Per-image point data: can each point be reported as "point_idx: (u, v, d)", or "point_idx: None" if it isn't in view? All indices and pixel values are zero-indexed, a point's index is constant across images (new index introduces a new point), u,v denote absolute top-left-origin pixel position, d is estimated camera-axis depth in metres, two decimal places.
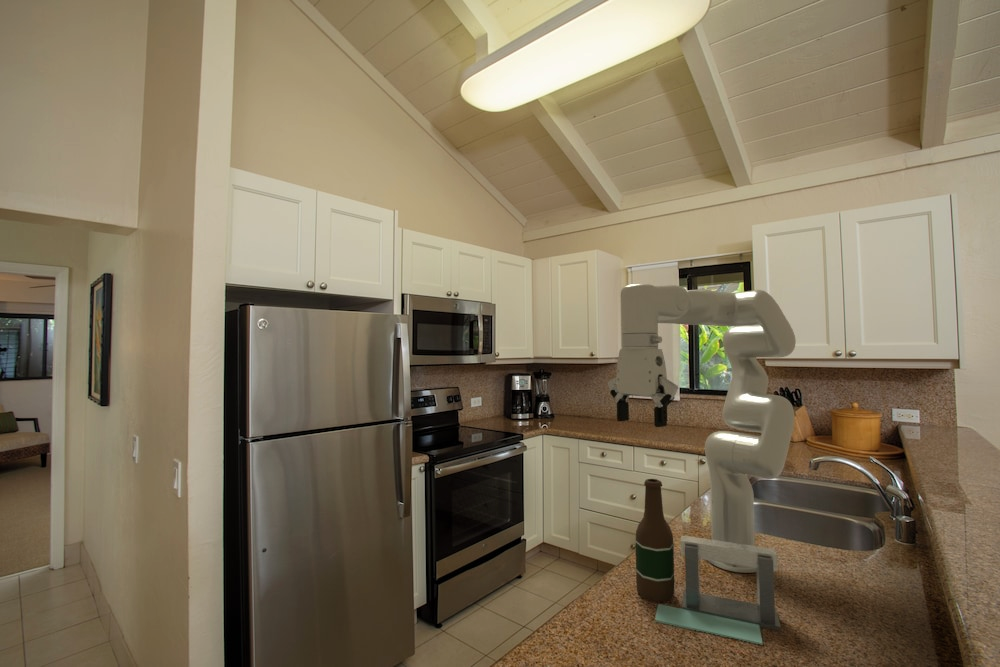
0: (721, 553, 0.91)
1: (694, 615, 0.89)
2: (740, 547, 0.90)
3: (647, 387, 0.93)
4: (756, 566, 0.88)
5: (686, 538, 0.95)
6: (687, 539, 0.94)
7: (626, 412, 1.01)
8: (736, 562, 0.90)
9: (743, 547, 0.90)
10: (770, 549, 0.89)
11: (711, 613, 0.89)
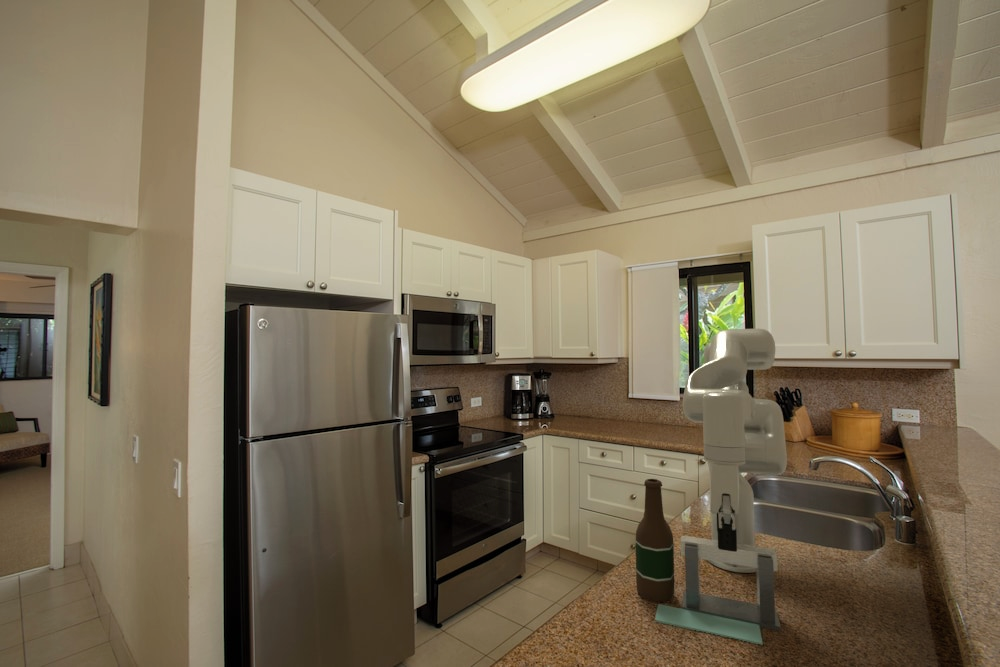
0: (721, 553, 0.91)
1: (694, 615, 0.89)
2: (740, 547, 0.90)
3: None
4: (756, 566, 0.88)
5: (686, 538, 0.95)
6: (687, 539, 0.94)
7: None
8: (736, 562, 0.90)
9: (743, 547, 0.90)
10: (770, 549, 0.89)
11: (711, 613, 0.89)
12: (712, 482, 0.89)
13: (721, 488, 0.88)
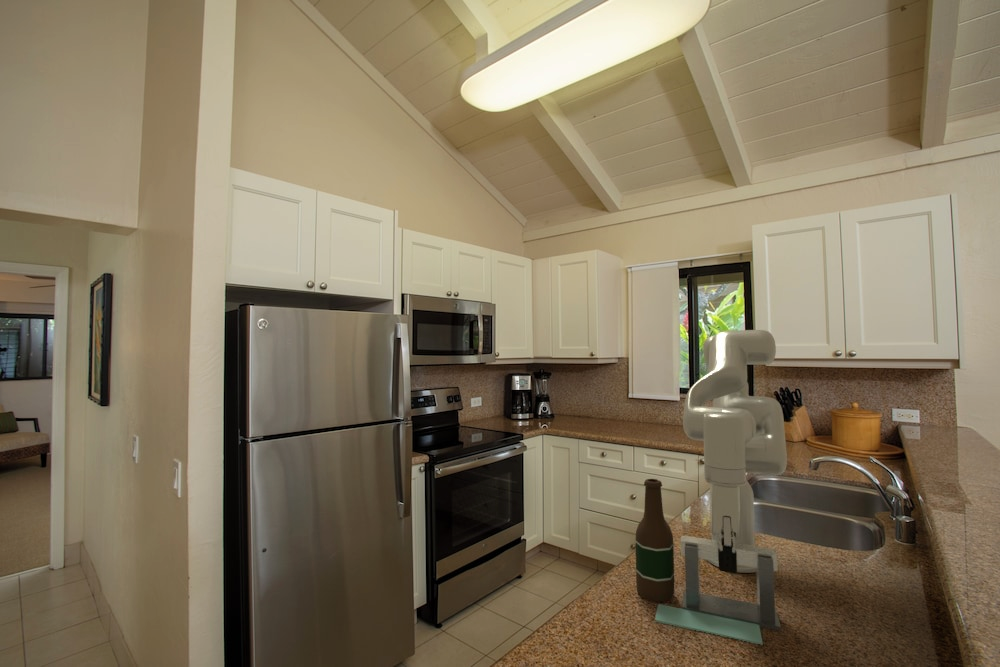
0: None
1: (694, 615, 0.89)
2: (740, 547, 0.90)
3: None
4: (756, 566, 0.88)
5: (686, 538, 0.95)
6: (687, 539, 0.94)
7: None
8: None
9: (743, 547, 0.90)
10: (770, 549, 0.89)
11: (711, 613, 0.89)
12: (713, 504, 0.89)
13: (722, 510, 0.88)
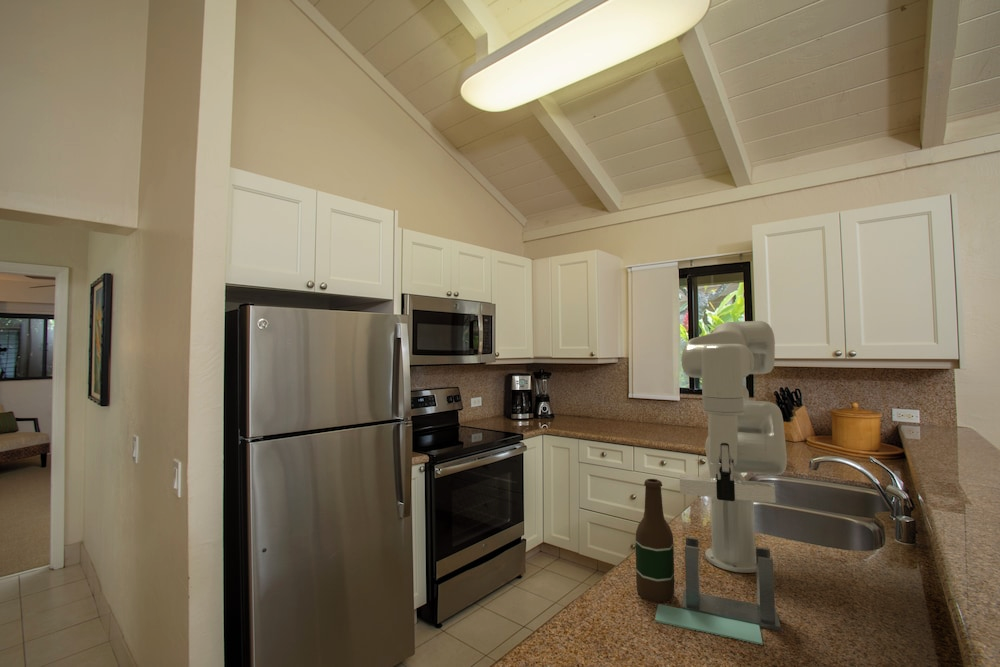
0: None
1: (694, 615, 0.89)
2: (738, 482, 0.91)
3: None
4: (754, 499, 0.89)
5: (685, 477, 0.96)
6: (686, 478, 0.95)
7: None
8: None
9: (741, 482, 0.91)
10: (768, 483, 0.90)
11: (711, 613, 0.89)
12: (711, 432, 0.90)
13: (720, 438, 0.89)
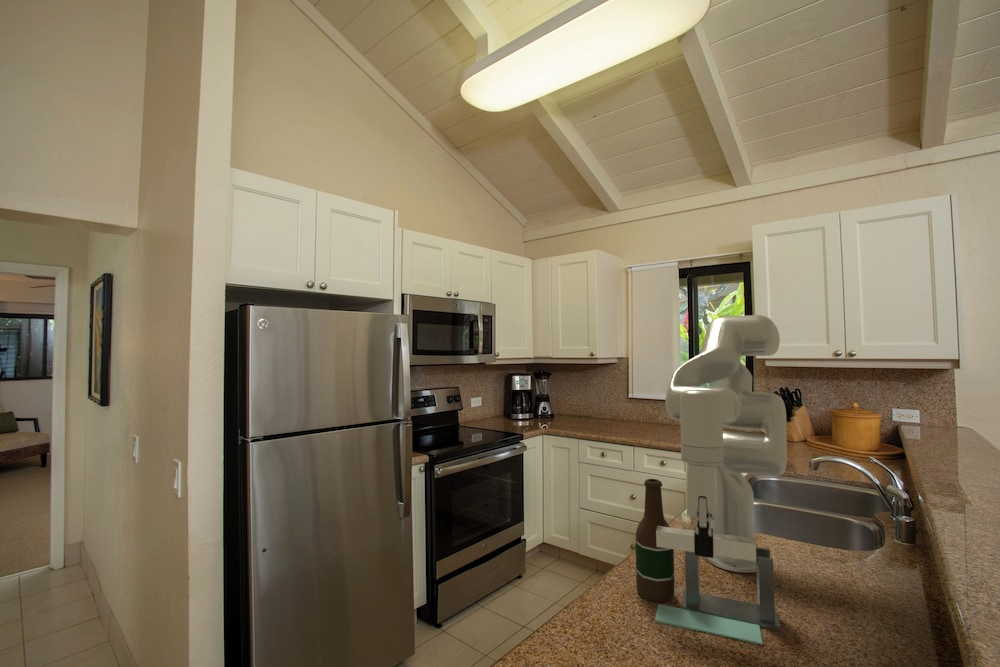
0: None
1: (694, 615, 0.89)
2: (717, 537, 0.86)
3: None
4: (734, 556, 0.84)
5: (662, 528, 0.91)
6: (663, 529, 0.90)
7: None
8: (713, 553, 0.85)
9: (720, 537, 0.86)
10: (749, 539, 0.85)
11: (711, 613, 0.89)
12: (688, 484, 0.85)
13: (697, 490, 0.84)
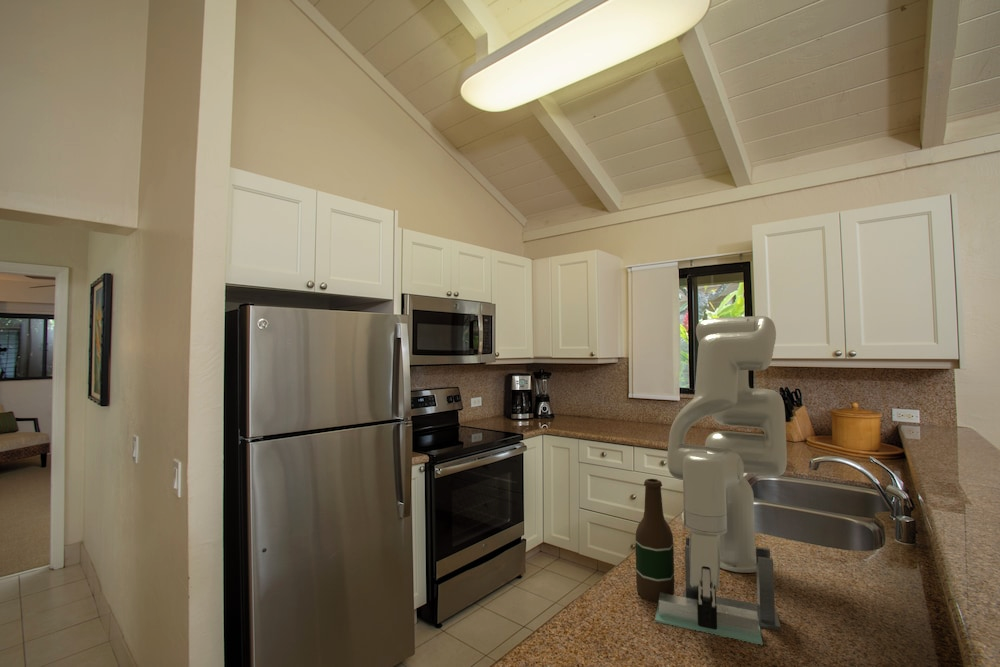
0: None
1: None
2: (720, 609, 0.86)
3: None
4: (737, 631, 0.84)
5: (665, 596, 0.90)
6: (666, 598, 0.90)
7: None
8: None
9: (723, 609, 0.86)
10: (752, 612, 0.85)
11: None
12: (691, 553, 0.84)
13: (701, 560, 0.83)
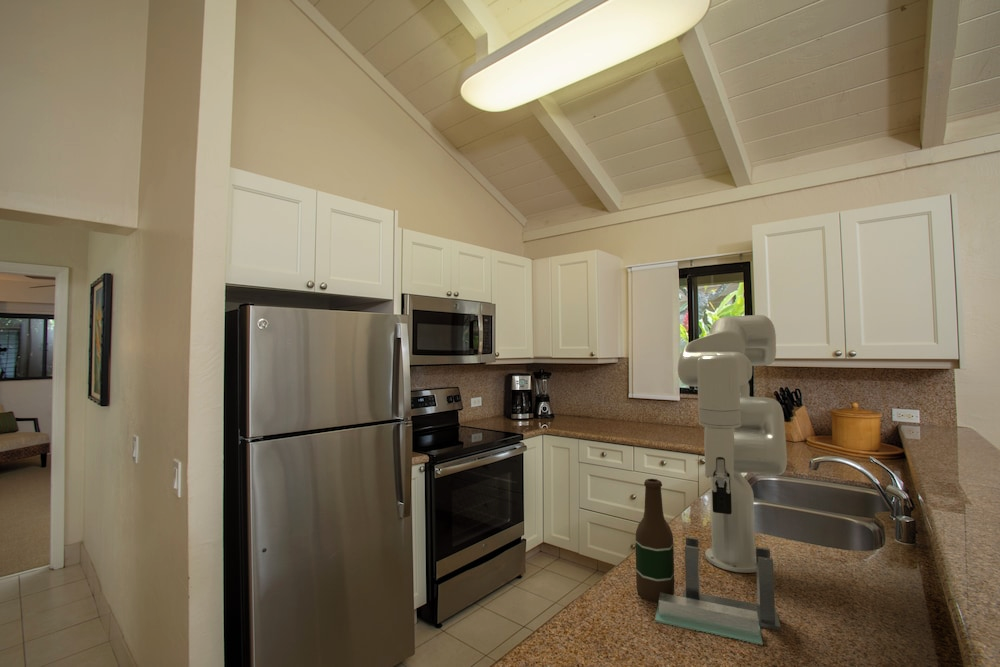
0: (700, 615, 0.86)
1: None
2: (720, 609, 0.86)
3: None
4: (737, 631, 0.84)
5: (665, 596, 0.90)
6: (666, 598, 0.90)
7: None
8: (716, 626, 0.85)
9: (723, 609, 0.86)
10: (752, 612, 0.85)
11: None
12: (706, 446, 0.87)
13: (715, 452, 0.86)
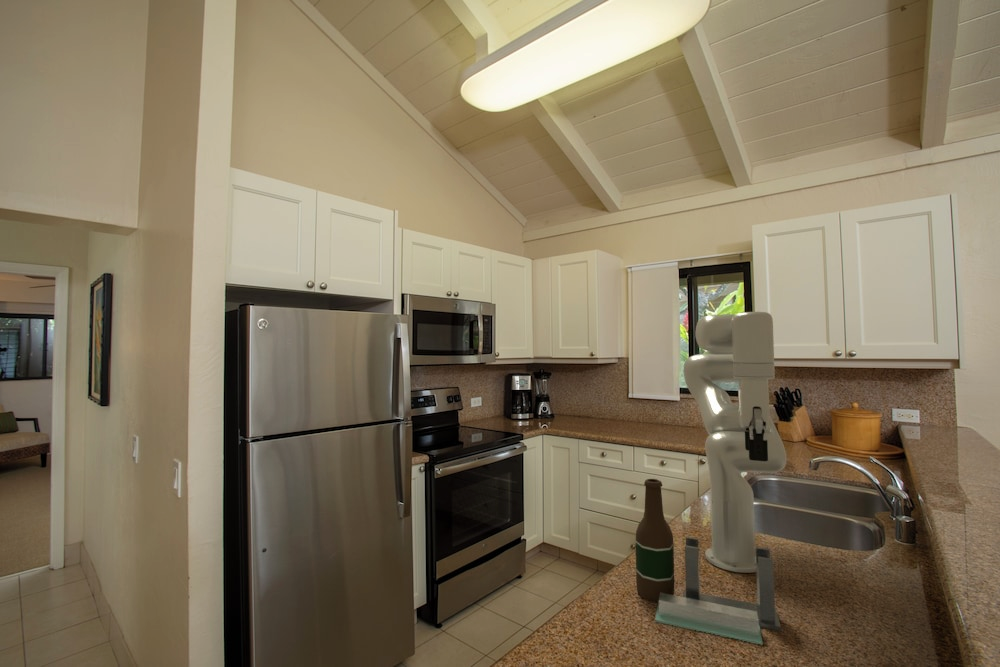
0: (700, 615, 0.86)
1: None
2: (720, 609, 0.86)
3: None
4: (737, 631, 0.84)
5: (665, 596, 0.90)
6: (666, 598, 0.90)
7: None
8: (716, 626, 0.85)
9: (723, 609, 0.86)
10: (752, 612, 0.85)
11: None
12: (743, 397, 0.91)
13: (752, 401, 0.90)
